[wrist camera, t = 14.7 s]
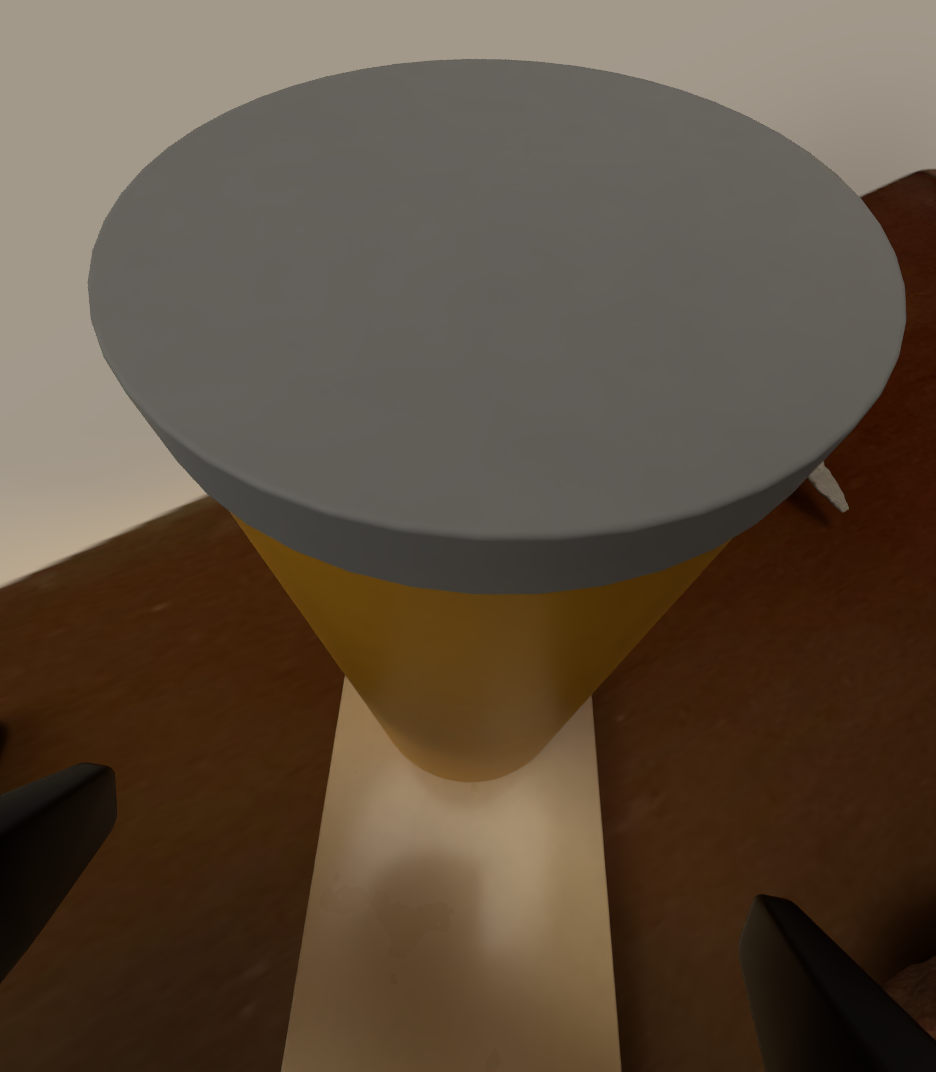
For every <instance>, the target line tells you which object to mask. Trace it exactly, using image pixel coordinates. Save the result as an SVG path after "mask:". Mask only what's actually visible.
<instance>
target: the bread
mask: <svg viewBox="0 0 936 1072" xmlns="http://www.w3.org/2000/svg"><path fill="white" fill-rule="evenodd" d="M882 989H883V990H884V991H885V992H886V993H887V994H888V995H889V996H890V997H892V998H893V999H894V1000H895V1001H896V1002H897V1003H898V1004H899V1005H900V1006H901V1007H902V1008H903V1009H904V1010H905V1011H906V1012H907V1013H908V1014H909V1015H910V1016H911V1017H912V1018H913V1019H914V1020H915V1021H916V1022H917V1023H918V1024H919V1025H920V1026H921V1027H922V1028H923V1029H924V1030H925V1031H926V1032H928V1033H929V1034H930V1035H931V1036H932V1037H933V1038H934V1039H935V1040H936V955H935V956H934V957H932V958H930V959H929V960H927V961H925V962H923V963H918V964H910V965H909V966H908V967H906V968H905V969H904V970H902V971H900V972H898V973H896V974H895V975H894V976H893V977H892V978H890V979H889V980H888V981H887V982H886V983H885V984H884V986H883V987H882Z"/></svg>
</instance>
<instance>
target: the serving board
mask: <svg viewBox="0 0 936 1072" xmlns="http://www.w3.org/2000/svg"><path fill="white" fill-rule="evenodd" d="M281 1072H622V1068H621V1055H620V1043H619V1030H618V1018H617V1005H616V992H615V980H614V967H613V955H612V942H611V930H610V917H609V905H608V892H607V880H606V867H605V855H604V842H603V830H602V817H601V805H600V792H599V779H598V767H597V754H596V742H595V729H594V717H593V704H592V695H591V696H590V697H589V698H588V699H587V700H586V702H585V703H584V704H583V705H582V706H581V707H580V708H579V709H578V710H577V712H576V713H575V714H574V715H573V716H572V717H571V718H570V719H569V720H568V722H567V723H566V724H565V725H564V726H563V727H562V728H561V729H560V730H559V732H558V733H557V734H556V735H555V736H554V737H553V738H552V739H551V740H550V742H549V743H548V744H547V745H546V746H545V747H544V748H543V749H542V750H541V752H540V753H539V754H538V755H537V756H535V757H534V758H533V759H532V760H531V761H530V762H529V763H527V764H526V765H524V766H523V767H521V768H520V769H518V770H516V771H514V772H512V773H510V774H508V775H506V776H503V777H500V778H496V779H493V780H488V781H482V782H460V781H452V780H448V779H445V778H441V777H438V776H435V775H433V774H431V773H429V772H427V771H425V770H423V769H421V768H420V767H418V766H417V765H415V764H414V763H412V762H411V761H410V760H409V759H408V758H406V757H405V756H404V755H403V754H402V753H401V752H400V751H399V749H398V748H397V747H396V746H395V745H394V743H393V742H392V741H391V739H390V738H389V736H388V735H387V734H386V732H385V731H384V729H383V728H382V727H381V725H380V724H379V722H378V721H377V719H376V718H375V717H374V715H373V714H372V712H371V711H370V710H369V708H368V707H367V705H366V704H365V702H364V701H363V700H362V698H361V697H360V695H359V694H358V693H357V691H356V690H355V688H354V687H353V685H352V684H351V683H350V681H349V680H348V678H347V677H346V676H345V678H344V684H343V691H342V697H341V703H340V709H339V715H338V722H337V728H336V734H335V740H334V746H333V752H332V759H331V765H330V771H329V777H328V783H327V790H326V796H325V802H324V808H323V814H322V820H321V827H320V833H319V839H318V845H317V851H316V858H315V864H314V870H313V876H312V882H311V889H310V895H309V901H308V907H307V913H306V919H305V926H304V932H303V938H302V944H301V950H300V957H299V963H298V969H297V975H296V981H295V987H294V994H293V1000H292V1006H291V1012H290V1018H289V1025H288V1031H287V1037H286V1043H285V1049H284V1056H283V1062H282V1068H281Z"/></svg>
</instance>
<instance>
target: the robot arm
mask: <svg viewBox="0 0 936 1072" xmlns="http://www.w3.org/2000/svg"><path fill="white" fill-rule="evenodd" d="M116 816H117V801H116V782H115V773H114V771H113V770H112V768H110V767H108V766H104V765H98V764H93V763H80V764H77V765H74V766H72V767H69V768H67V769H64V770H62V771H59V772H57V773H54V774H52V775H49V776H47V777H44V778H42V779H39V780H37V781H34V782H32V783H29V784H27V785H24V786H22V787H19V788H17V789H14V790H12V791H9V792H7V793H4V794H2V795H0V983H1V982H2V981H3V979H4V978H5V977H6V976H7V975H8V973H9V972H10V971H11V970H12V968H13V967H14V966H15V965H16V963H17V962H18V961H19V959H20V958H21V957H22V956H23V954H24V953H25V952H26V951H27V949H28V948H29V947H30V945H31V944H32V943H33V941H34V940H35V938H36V937H37V936H38V934H39V933H40V932H41V930H42V929H43V928H44V926H45V925H46V923H47V922H48V920H49V919H50V918H51V916H52V915H53V913H54V912H55V910H56V909H57V908H58V906H59V905H60V903H61V902H62V900H63V899H64V898H65V896H66V895H67V893H68V892H69V891H70V889H71V888H72V886H73V885H74V883H75V882H76V881H77V879H78V878H79V876H80V875H81V873H82V872H83V871H84V869H85V868H86V866H87V865H88V863H89V862H90V861H91V859H92V858H93V856H94V855H95V853H96V852H97V851H98V849H99V848H100V846H101V845H102V843H103V842H104V841H105V839H106V838H107V836H108V835H109V833H110V832H111V830H112V828H113V826H114V823H115V820H116ZM738 949H739V961H740V966H741V970H742V974H743V979H744V983H745V987H746V991H747V996H748V1000H749V1004H750V1008H751V1013H752V1017H753V1021H754V1025H755V1030H756V1034H757V1038H758V1042H759V1047H760V1051H761V1055H762V1060H763V1064H764V1068H765V1072H936V1040H935V1039H934V1038H933V1037H932V1036H931V1035H930V1034H929V1033H928V1032H926V1031H925V1030H924V1029H923V1028H922V1027H921V1026H920V1025H919V1024H918V1023H917V1022H916V1021H915V1020H914V1019H913V1018H912V1017H911V1016H910V1015H909V1014H908V1013H907V1012H906V1011H905V1010H904V1009H903V1008H902V1007H901V1006H900V1005H899V1004H898V1003H897V1002H896V1001H895V1000H894V999H893V998H892V997H890V996H889V995H888V994H887V993H886V992H885V991H884V990H883V989H882V988H881V987H880V986H879V985H878V984H877V983H876V982H875V981H874V980H873V979H872V978H871V977H870V976H869V975H868V974H867V973H866V972H865V971H864V970H863V969H862V968H861V967H860V966H859V965H858V964H857V963H856V962H855V961H853V960H852V959H851V958H850V957H849V956H848V955H847V954H846V953H845V952H844V951H843V950H842V949H841V948H840V947H839V946H838V945H837V944H836V943H835V942H834V941H833V940H832V939H831V938H830V937H829V936H828V935H827V934H826V933H825V932H824V931H823V930H822V929H821V928H820V927H819V926H818V925H816V924H815V923H814V922H813V921H812V920H811V919H810V918H809V917H808V916H807V915H806V914H805V913H804V912H803V911H802V910H801V909H800V908H799V907H798V906H797V905H796V904H794V903H793V902H792V901H790V900H787V899H784V898H779V897H774V896H769V895H764V894H760V895H757V896H756V897H755V898H754V899H753V901H752V903H751V906H750V909H749V912H748V915H747V918H746V921H745V924H744V927H743V930H742V933H741V936H740V940H739V947H738Z"/></svg>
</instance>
